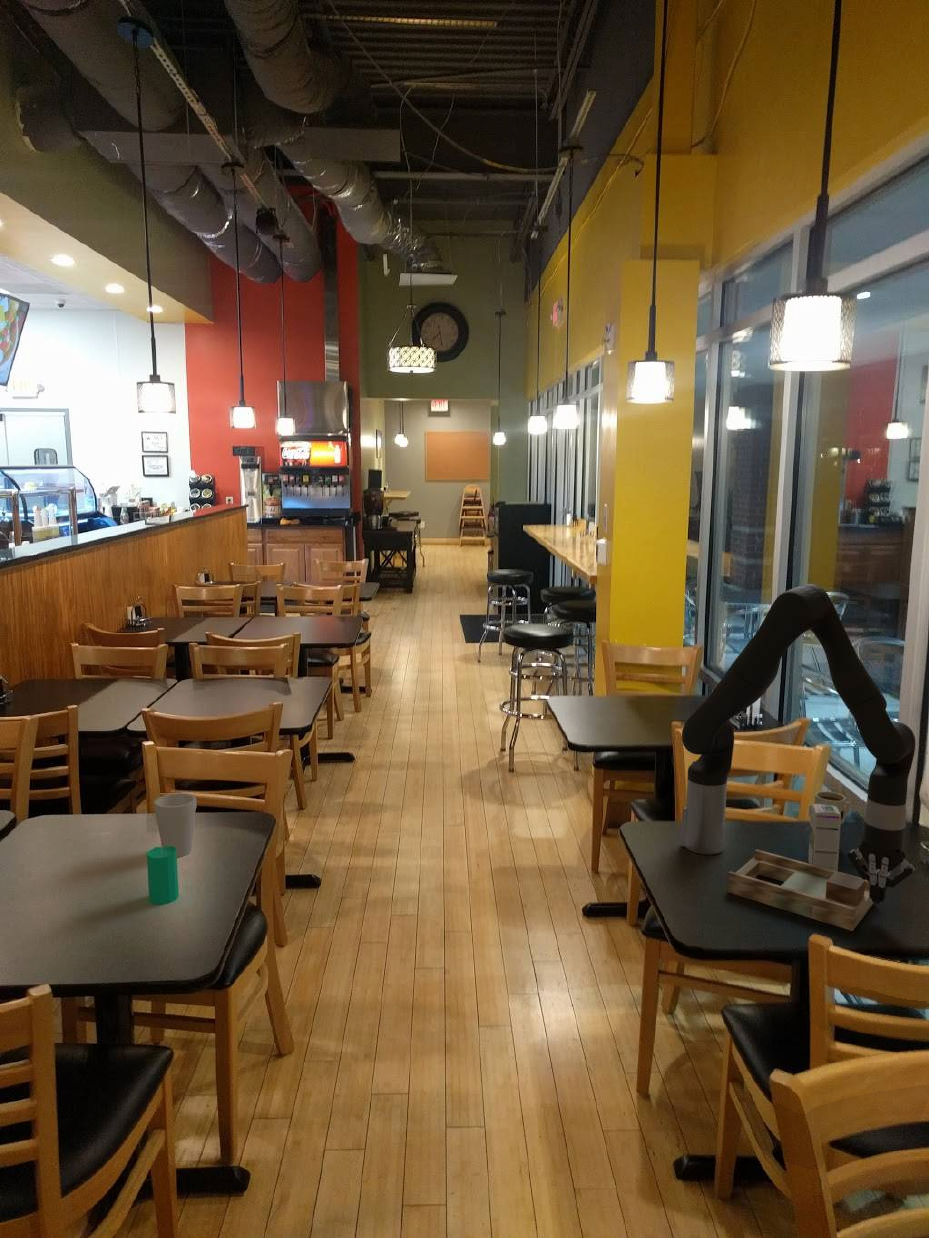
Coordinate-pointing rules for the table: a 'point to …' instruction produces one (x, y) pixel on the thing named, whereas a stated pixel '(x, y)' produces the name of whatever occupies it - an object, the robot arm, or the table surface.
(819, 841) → the syrup box
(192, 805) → the foam cup
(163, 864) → the candle
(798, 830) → the table surface
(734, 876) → the tray
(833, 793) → the character mug
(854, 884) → the walnut block
